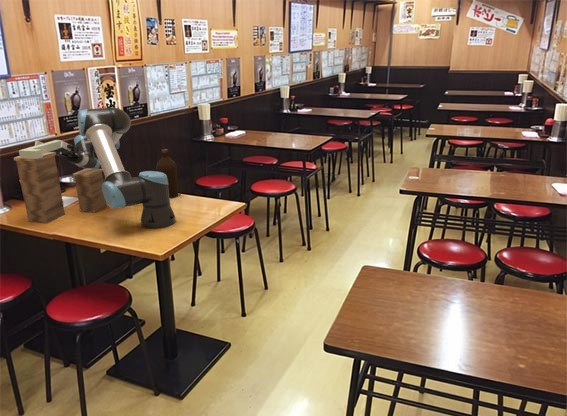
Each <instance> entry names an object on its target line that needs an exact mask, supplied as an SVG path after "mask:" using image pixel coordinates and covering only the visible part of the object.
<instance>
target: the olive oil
mask: <svg viewBox="0 0 567 416" xmlns="http://www.w3.org/2000/svg"><path fill="white" fill-rule="evenodd" d="M155 171H156V172H161V173H164V174H165V175H166V176H167V180H168V189H169V199H175V198H176V197H178V196H179V188H178V187H179V186H178V167H177V164H176V162H175V161H174V160H173V159H172V158H171V157H170V156H169V149H168V148H163V149H161V158H160V159H159V160H158V162H157V163H156V167H155Z"/></svg>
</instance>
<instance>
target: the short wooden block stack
mask: <svg viewBox="0 0 567 416" xmlns="http://www.w3.org/2000/svg"><path fill="white" fill-rule="evenodd" d="M72 176H73V177H74V181H75V187H76V188H75V189H76V194H77V200H78V204H79V211H80V212H81V213H98V212H99V211H101V210H103V209H104V208H106V207H108V204H107V203H106V201H105V199H104V195H103V192H102V184H103V183H104V177H103V170H102V168H98V169H92V168H86V169H84V168H83V169H81V170H78V171H77V172H74V173H72Z"/></svg>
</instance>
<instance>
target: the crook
mask: <svg viewBox="0 0 567 416" xmlns="http://www.w3.org/2000/svg"><path fill="white" fill-rule="evenodd" d="M61 141H63V139H62V140H61V139H54V140H51V141H48V142H43V143H44V144H40V145H37V146H35V145H34V146H29V147H26V148H23V149H20V150H18V154H19V156H20V158H26V159H39V158H42V157H43V156H42V154H43V153H47V152H50V151H53V150H56V149H59V148H62V147H60V146H61Z"/></svg>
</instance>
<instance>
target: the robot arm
mask: <svg viewBox="0 0 567 416" xmlns="http://www.w3.org/2000/svg"><path fill="white" fill-rule="evenodd" d="M77 123H78V125H77V126H78V131H79V132H78V133H79V134H78V135H76V136H75V137H74V139H73V143H74V144H70V143H68V142H66V141H64V140H62V141H61V146H60V147H62V148H59V149H56V150H53V151H50V152H56V155H55V156H58V157H60V156H62V157H64V158H66V160H67V161H68V162H69V163H71V164H73V165H76V166H77V167H79V168H83V170H84V169H86V168H92V169H100V167H101V169H102V170H103V171H102V173H103V175H104V177H105V178H103V184H102V192H103V195H104V199H105V201H106V203H107V206H109V208H111V209H123V208H126V207H127V208H128V207H130V206H135V205H136V206H137V205H141V204H142V211H141V216H140V225H141V226H142V227H143V228H147V229H161V228H166V227H169V226H172V225H173V224H175V223H176V215H175V213H174V211H173V208H172V206H171V201H170V199H171V198H169V189H168V180H167V176H166V175H165V174H164V173H161V172H156V170H155V171H154V170H146V171H145V170H144V171H141V172H139V174H138V176H135V177H132V175H131V173H130V172H129V171H126V170H125V167H124V165H123V163H122V161H121V158H120V155H119V153H118V151H117V150H118V149H120V146H121V145H120V139H121V137H122V136H123V135H124V134H126V133H128V131H129V129H130V128H131V126H132V122H131V118H130V115H128V113H127V112H125V110H123V109H120V108H119V107H113V106H111V107H102V108H99V107H98V108H86V109H80V110H79V111H78V112H77ZM44 143H45V142H42V141H40V140H37V139H36V140H35V141H34V146H37V145H40V144H44ZM94 153H95V154H96V157H97V158H96V157H95V154H94Z"/></svg>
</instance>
